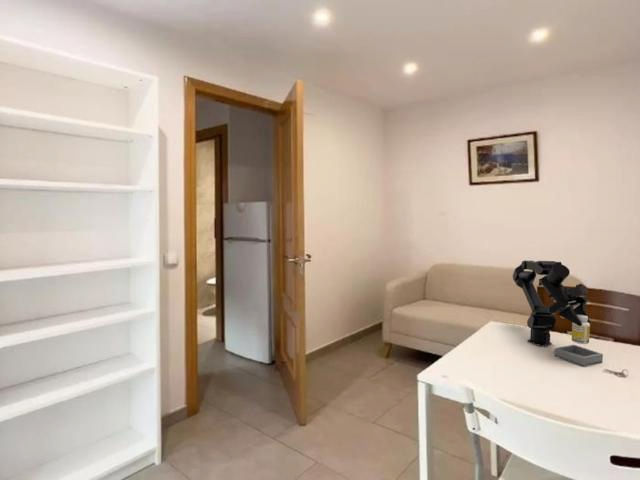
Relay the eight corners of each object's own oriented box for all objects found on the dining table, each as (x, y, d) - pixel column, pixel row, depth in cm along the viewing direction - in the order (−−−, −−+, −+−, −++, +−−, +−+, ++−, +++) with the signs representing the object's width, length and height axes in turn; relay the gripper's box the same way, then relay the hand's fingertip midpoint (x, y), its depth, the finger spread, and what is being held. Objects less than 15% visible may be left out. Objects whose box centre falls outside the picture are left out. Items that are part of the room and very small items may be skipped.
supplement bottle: (583, 339, 144) (584, 314, 143) (592, 344, 139) (594, 318, 138) (568, 339, 144) (569, 313, 144) (576, 344, 139) (578, 317, 138)
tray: (554, 356, 145) (554, 348, 144) (573, 352, 149) (573, 344, 148) (583, 366, 135) (583, 358, 135) (602, 362, 139) (602, 353, 139)
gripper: (558, 278, 138) (590, 316, 130) (585, 275, 148) (616, 309, 139) (535, 296, 146) (564, 332, 137) (562, 291, 155) (591, 325, 146)
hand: (585, 324), depth 140 cm, fingers closed on supplement bottle, 5 cm apart
